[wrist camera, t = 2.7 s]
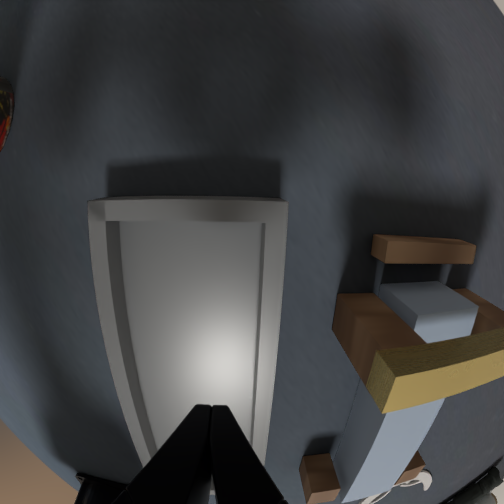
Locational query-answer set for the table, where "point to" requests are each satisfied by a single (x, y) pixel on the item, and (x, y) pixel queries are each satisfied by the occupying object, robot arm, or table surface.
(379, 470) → the peg
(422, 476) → the pliers
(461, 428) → the table surface
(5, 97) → the deodorant
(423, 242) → the brown wooden stand
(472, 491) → the flashlight
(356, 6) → the table surface
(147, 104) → the table surface
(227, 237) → the tray
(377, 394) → the bar
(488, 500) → the ceramic mug
